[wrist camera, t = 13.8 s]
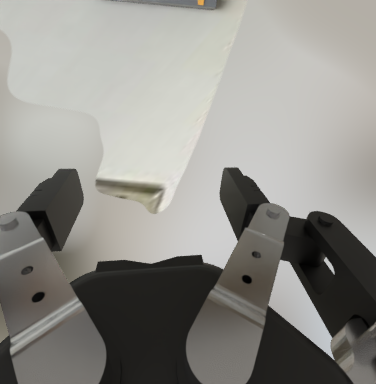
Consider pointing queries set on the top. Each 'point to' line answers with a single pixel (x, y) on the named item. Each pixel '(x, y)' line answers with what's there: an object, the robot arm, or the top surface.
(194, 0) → the slider track
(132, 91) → the top surface
